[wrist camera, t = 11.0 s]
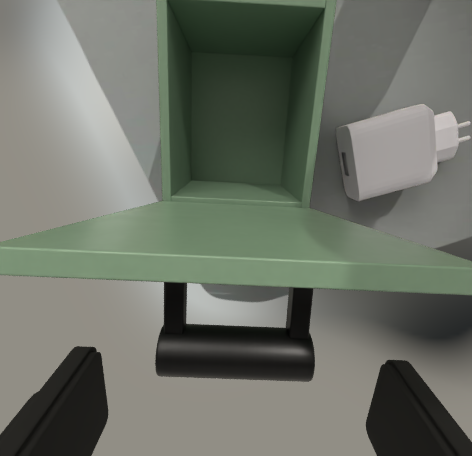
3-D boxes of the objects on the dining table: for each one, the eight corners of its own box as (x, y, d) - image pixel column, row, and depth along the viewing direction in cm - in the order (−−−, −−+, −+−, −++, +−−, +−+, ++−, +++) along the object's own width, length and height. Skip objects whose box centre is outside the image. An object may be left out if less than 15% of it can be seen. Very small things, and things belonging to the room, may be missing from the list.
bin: (185, 46, 32) (155, -16, 20) (298, 52, 32) (337, -5, 20) (186, 185, 37) (162, 204, 25) (284, 189, 37) (309, 211, 25)
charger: (455, 166, 36) (345, 195, 37) (452, 93, 34) (334, 128, 35) (486, 169, 32) (360, 202, 33) (486, 85, 29) (349, 125, 30)
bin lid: (-18, 245, 7) (1, 419, 8) (495, 268, 7) (459, 434, 8) (161, 200, 24) (160, 256, 25) (310, 208, 24) (305, 263, 25)
